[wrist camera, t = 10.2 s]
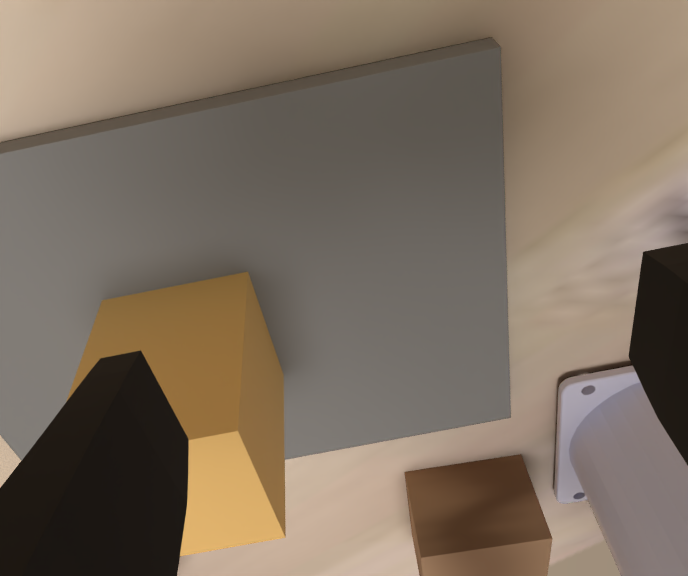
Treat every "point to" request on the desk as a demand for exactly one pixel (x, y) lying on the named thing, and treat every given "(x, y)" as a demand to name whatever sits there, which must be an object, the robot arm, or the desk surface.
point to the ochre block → (210, 400)
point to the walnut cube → (478, 520)
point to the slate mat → (282, 242)
